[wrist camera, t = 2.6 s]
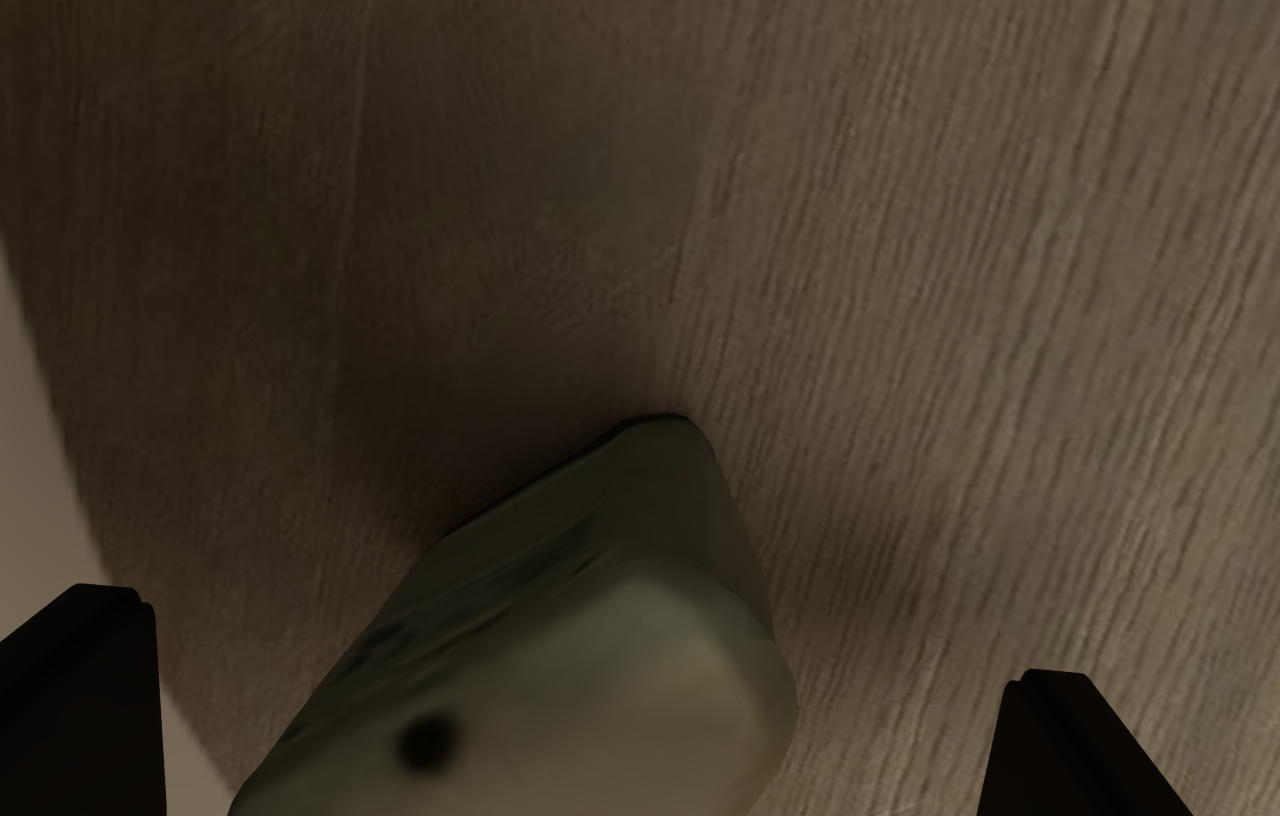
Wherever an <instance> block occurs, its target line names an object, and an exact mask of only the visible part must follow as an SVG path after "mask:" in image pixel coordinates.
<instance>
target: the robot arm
mask: <svg viewBox="0 0 1280 816" xmlns="http://www.w3.org/2000/svg"><path fill="white" fill-rule="evenodd" d="M166 804H167V803H166V788H165V770H164V753H163V738H162V720H161V704H160V687H159V670H158V654H157V637H156V620H155V613H154V609H153V607H152V605H150V604H149V603H146V602H141V598H140V596H139V594H138V592H137V591H136V590H134V589H133V588H128V587H117V586H106V585H95V584H83V583H82V584H81V583H79V584H75V585H73V586H71V587H70V588H69V589H67V590H66V591H65V592H63V593H62V594H61V595H60V596H58V597H57V598H56V599H54V600H53V601H52V602H51V603H50V604H48V605H47V606H46V607H44V608H43V609H42V610H40V611H39V612H38V613H37V614H35V615H34V616H33V617H31V618H30V619H29V620H28V621H26V622H25V623H24V624H23V625H21V626H20V627H19V628H17V629H16V630H15V631H14V632H13V633H11V634H10V635H9V636H7V637H6V638H5V639H4V640H2V641H1V642H0V816H166V814H167V805H166ZM976 816H1193V815H1192V813H1191V812H1190V811H1189V809H1188V808H1187V807H1186V805H1185V804H1184V803H1183V801H1182V800H1181V799H1180V797H1179V796H1178V795H1177V793H1176V792H1175V791H1174V790H1173V788H1172V787H1171V786H1170V784H1169V783H1168V782H1167V780H1166V779H1165V778H1164V776H1163V775H1162V774H1161V772H1160V771H1159V770H1158V768H1157V767H1156V766H1155V765H1154V763H1153V762H1152V761H1151V759H1150V758H1149V757H1148V755H1147V754H1146V753H1145V751H1144V750H1143V749H1142V747H1141V746H1140V745H1139V743H1138V742H1137V741H1136V739H1135V738H1134V737H1133V736H1132V734H1131V733H1130V732H1129V730H1128V729H1127V728H1126V726H1125V725H1124V724H1123V722H1122V721H1121V720H1120V718H1119V717H1118V716H1117V714H1116V713H1115V712H1114V711H1113V709H1112V708H1111V707H1110V705H1109V704H1108V703H1107V701H1106V700H1105V699H1104V697H1103V696H1102V695H1101V693H1100V692H1099V691H1098V689H1097V688H1096V687H1095V686H1094V684H1093V683H1092V682H1091V680H1090V679H1089V678H1088V677H1087V676H1086V675H1085V674H1082V673H1074V672H1063V671H1052V670H1041V669H1028V670H1027V671H1025V673H1024V674H1023V676H1022V678H1021V680H1020V681H1015V680H1011V681H1009V682H1008V683H1007V685H1006V687H1005V689H1004V693H1003V696H1002V701H1001V706H1000V710H999V715H998V719H997V724H996V728H995V733H994V738H993V742H992V747H991V751H990V756H989V760H988V765H987V769H986V774H985V779H984V783H983V788H982V792H981V797H980V801H979V806H978V811H977V815H976Z"/></svg>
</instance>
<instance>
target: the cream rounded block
mask: <svg viewBox="0 0 1280 816" xmlns="http://www.w3.org/2000/svg"><path fill="white" fill-rule="evenodd" d="M798 714H799V711H798V703H797V696H796V688H795V681H794V678H793V676H792V674H791V672H790V669H789V668H788V666H787V664H786V663H785V661H784V659H783V658H782V656H781V654H780V652H779V651H778V649H777V647H776V644H775V636H774V627H773V619H772V613H771V608H770V602H769V596H768V591H767V585H766V581H765V578H764V574H763V571H762V567H761V564H760V562H759V559H758V557H757V555H756V553H755V551H754V548H753V546H752V544H751V542H750V539H749V536H748V533H747V530H746V526H745V524H744V523H743V521H742V519H741V517H740V514H739V512H738V510H737V508H736V506H735V504H734V501H733V499H732V496H731V493H730V491H729V488H728V486H727V484H726V482H725V479H724V477H723V475H722V473H721V471H720V469H719V467H718V464H717V461H716V457H715V452H714V450H713V448H712V447H711V445H710V444H709V442H708V441H707V439H706V438H705V436H704V435H703V433H702V432H701V431H700V430H699V429H698V428H697V427H696V425H695V424H694V423H693V422H692V421H690V420H689V419H688V418H687V417H684V416H680V415H675V414H669V413H668V414H656V415H646V416H642V417H638V418H633V419H628V420H623V421H621V422H619V423H618V424H617V425H616V426H614V427H613V428H611V429H610V430H608V431H606V432H605V433H604V434H602V435H600V436H599V437H598V438H596V439H595V440H594V441H593V442H592V443H590V444H589V445H587V446H585V447H584V448H582V449H581V450H580V451H578V452H577V453H576V454H574V455H572V456H570V457H568V458H566V459H565V460H563V461H561V462H560V463H558V464H556V465H555V466H553V467H551V468H550V469H548V470H546V471H544V472H542V473H541V474H539V475H537V476H536V477H534V478H532V479H531V480H529V481H528V482H526V483H525V484H523V485H521V486H519V487H517V488H516V489H514V490H512V491H510V492H509V493H507V494H506V495H504V496H502V497H501V498H499V499H498V500H496V501H495V502H493V503H491V504H490V505H488V506H487V507H485V508H484V509H482V510H480V511H479V512H477V513H475V514H474V515H472V516H470V517H469V518H467V519H465V520H464V521H462V522H460V523H459V524H457V525H456V526H454V527H453V528H452V529H450V530H449V531H448V532H447V533H446V534H445V535H444V536H443V537H442V538H441V540H440V541H438V542H437V543H436V544H435V545H434V546H433V547H432V548H431V549H430V550H429V551H428V552H427V553H426V554H425V555H423V556H422V557H421V558H420V559H419V560H418V561H417V562H416V563H415V564H414V565H413V566H412V567H411V569H410V570H409V572H408V573H407V574H406V575H405V577H404V578H403V579H402V581H401V582H400V584H399V585H398V586H397V587H396V589H395V590H394V591H393V592H392V594H391V595H390V597H389V598H388V599H387V601H386V602H385V604H384V605H383V607H382V608H381V609H380V611H379V612H378V614H377V615H376V616H375V618H374V619H373V620H372V621H371V623H370V624H369V625H368V626H367V627H366V628H365V630H364V631H363V632H362V633H361V634H360V635H359V636H358V638H357V639H356V640H355V641H354V642H353V644H352V645H351V646H350V647H349V648H348V650H347V651H346V652H345V653H344V654H343V655H342V657H341V658H340V659H339V660H338V662H337V663H336V664H335V665H334V667H333V668H332V669H331V670H330V672H329V673H328V674H327V675H326V677H325V678H324V679H323V680H322V681H321V683H320V684H319V685H318V686H317V688H316V689H315V690H314V692H313V693H312V695H311V696H310V698H309V699H308V701H307V702H306V704H305V705H304V706H303V708H302V709H301V710H300V711H299V713H298V714H297V715H296V717H295V718H294V719H293V721H292V722H291V723H290V725H289V726H288V727H287V729H286V730H285V732H284V733H283V734H282V736H281V737H280V738H279V740H278V741H277V743H276V744H275V745H274V747H273V748H272V749H271V751H270V752H269V753H268V755H267V756H266V758H265V759H264V760H263V762H262V763H261V764H260V766H259V767H258V768H257V769H256V770H255V771H254V772H253V773H252V774H251V776H250V777H249V778H248V779H247V780H246V781H245V782H244V783H243V785H242V787H241V788H240V790H239V792H238V793H237V795H236V797H235V798H234V800H233V801H232V804H231V806H230V809H229V812H228V815H227V816H745V815H746V814H747V813H748V812H749V810H750V809H751V807H752V806H753V805H754V803H755V802H756V800H757V799H758V797H759V796H760V794H761V793H762V792H763V790H764V789H765V787H766V786H767V784H768V783H769V781H770V780H771V779H772V777H773V776H774V774H775V773H776V771H777V770H778V768H779V767H780V766H781V763H782V761H783V759H784V757H785V755H786V752H787V750H788V748H789V746H790V744H791V741H792V738H793V734H794V730H795V726H796V721H797V717H798Z"/></svg>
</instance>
